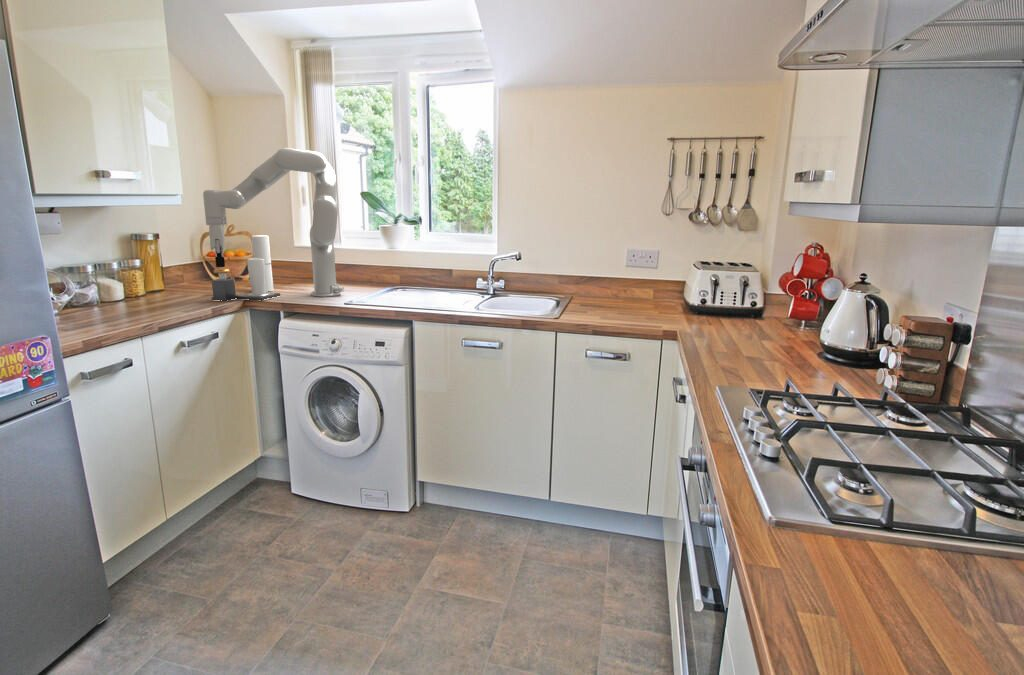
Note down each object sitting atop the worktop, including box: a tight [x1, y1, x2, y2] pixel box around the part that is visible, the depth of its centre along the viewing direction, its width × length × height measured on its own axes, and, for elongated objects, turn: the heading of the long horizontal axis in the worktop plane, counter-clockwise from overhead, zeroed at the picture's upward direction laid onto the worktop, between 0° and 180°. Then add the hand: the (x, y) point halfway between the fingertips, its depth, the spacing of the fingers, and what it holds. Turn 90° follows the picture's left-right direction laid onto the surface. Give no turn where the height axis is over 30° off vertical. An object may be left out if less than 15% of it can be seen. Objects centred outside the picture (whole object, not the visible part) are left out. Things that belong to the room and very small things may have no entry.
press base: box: [211, 278, 281, 302], centre depth 242 cm, size 20×18×8 cm
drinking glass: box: [246, 257, 266, 295], centre depth 242 cm, size 7×7×15 cm
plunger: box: [213, 268, 231, 280], centre depth 237 cm, size 6×6×8 cm
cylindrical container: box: [250, 234, 275, 292], centre depth 259 cm, size 7×7×25 cm
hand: (220, 266), depth 236 cm, fingers closed
